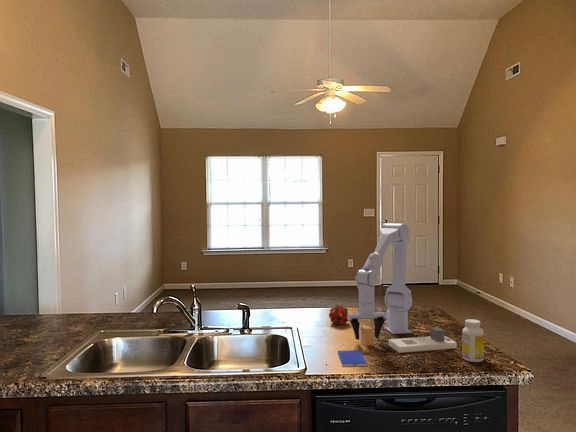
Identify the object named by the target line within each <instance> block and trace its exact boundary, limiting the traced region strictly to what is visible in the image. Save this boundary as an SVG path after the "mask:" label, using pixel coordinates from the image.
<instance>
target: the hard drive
mask: <svg viewBox="0 0 576 432" xmlns="http://www.w3.org/2000/svg"><path fill="white" fill-rule="evenodd" d="M337 356H338V359H339V361H340V364H341V366H342V367H367V366H368V362H367V360H366V358H365V357H364V354H363V352H362V350H360V349H357V350H356V349H354V350H352V349H351V350H350V349H349V350H347V349H346V350H337Z"/></svg>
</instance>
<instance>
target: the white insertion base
mask: <svg viewBox="0 0 576 432" xmlns="http://www.w3.org/2000/svg"><path fill="white" fill-rule="evenodd" d="M429 329H430V332H429V333H430V335H429V336H419V337H418V336H417V337H403V338H391V339H390V338H389V339H388V346H389V347H390V348H392V349H393V350H395V351H396V352H398V354H400V353H401V354H402V353H413V352H414V353H415V352H426V351H439V350H450V349H458V347H457V343H458V342H456V341H454V340H453V339H451V338H450V337H448V336H447V335H445V330H444V329H442V328H440V327H438V326H434V327H433V326H432V327H430V328H429Z"/></svg>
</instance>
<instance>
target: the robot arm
mask: <svg viewBox="0 0 576 432" xmlns="http://www.w3.org/2000/svg"><path fill="white" fill-rule="evenodd" d="M379 235H380V237H379V240H378V241H377V245H376V247H375V250H374V252H372V253H369V255H368V257H367V259H366V261H365V263H364V265H363V267H362V268H361V269H359V270H358V271H356V274H355V278H354V279H355V283H356V285H357V287H356V288H357V289H358V312H354V313H348V314H347V319H348V320H349V321H348V322H349V323H350V325H351V328H352V330H353V332H354V337H355V338H354V339H356V341H359V340H360V327H361V326H360V325H361V322H359V320H372V319H373V322H374V324H373V325H374V337H375V338H376V339H379V338H380V333H381V331H382V327H383V328H384V329H385V330H386V331H388V332H390V334H391V333H392V334H393V335H399V334H400V335H401V334H412V331H411V330H410V329H409V328H408V322H409V321H408V319H409V318H408V311H409V310H410V309H411V308H412V305H413V298H412V290H411V289H410V288H408V287H407V286H406V276H407V275H406V273H407V253H408V244H409V243H410V228H409V226H408V225H407V224H406V223H405V222H403V223H396V222H395V223H390V222H384V223H383V224H382V225H381V227H380V229H379ZM390 245H392V246H393V253H392V254H393V257H392V259H393V260H392V273H391V274H392V275H391V276H392V277H391V279H392V280H391V285H390V286H389V287H387V288H386V292H385V296H384V303H385V306H386V307H387V310H386V312H384V311H375V307H376V305H375V301H376V300H375V286H376V285H377V283H378V280H379V271H380V269H381V267H382V266H383V263H384V258H383V257H384V255H385V254H386V252H387V251H388V249H389V247H390ZM385 319H386V320H385ZM385 322H386V325H385V326H384V324H385Z"/></svg>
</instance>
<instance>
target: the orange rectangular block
mask: <svg viewBox="0 0 576 432" xmlns="http://www.w3.org/2000/svg"><path fill="white" fill-rule="evenodd" d="M360 342H361V344H362V345H364V346H374V328H372V327H371V326H370V325H361V326H360Z"/></svg>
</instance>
